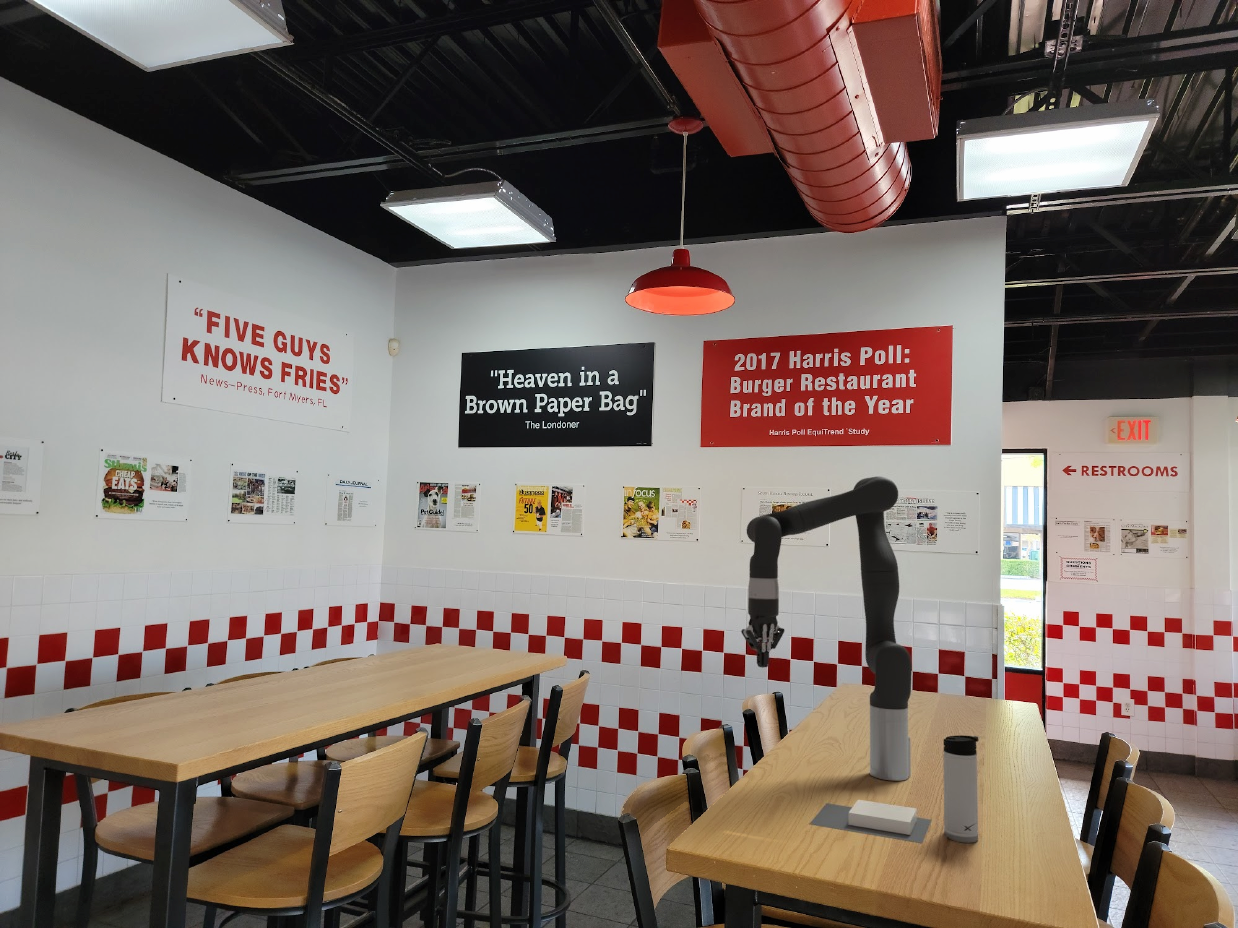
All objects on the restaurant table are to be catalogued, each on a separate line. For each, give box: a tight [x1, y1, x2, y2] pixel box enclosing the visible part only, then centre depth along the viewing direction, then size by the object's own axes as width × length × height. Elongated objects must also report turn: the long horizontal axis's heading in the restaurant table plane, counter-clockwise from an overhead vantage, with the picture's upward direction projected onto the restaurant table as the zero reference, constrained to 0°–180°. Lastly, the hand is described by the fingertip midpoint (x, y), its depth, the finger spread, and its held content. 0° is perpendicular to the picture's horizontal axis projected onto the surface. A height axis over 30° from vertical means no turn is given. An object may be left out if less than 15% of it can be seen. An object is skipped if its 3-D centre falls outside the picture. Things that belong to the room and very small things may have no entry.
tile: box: [849, 799, 918, 835], centre depth 176 cm, size 3×10×12 cm
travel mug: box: [942, 734, 979, 844], centre depth 170 cm, size 6×7×20 cm
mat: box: [808, 802, 932, 844], centre depth 176 cm, size 22×16×1 cm
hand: (762, 666), depth 211 cm, fingers closed
